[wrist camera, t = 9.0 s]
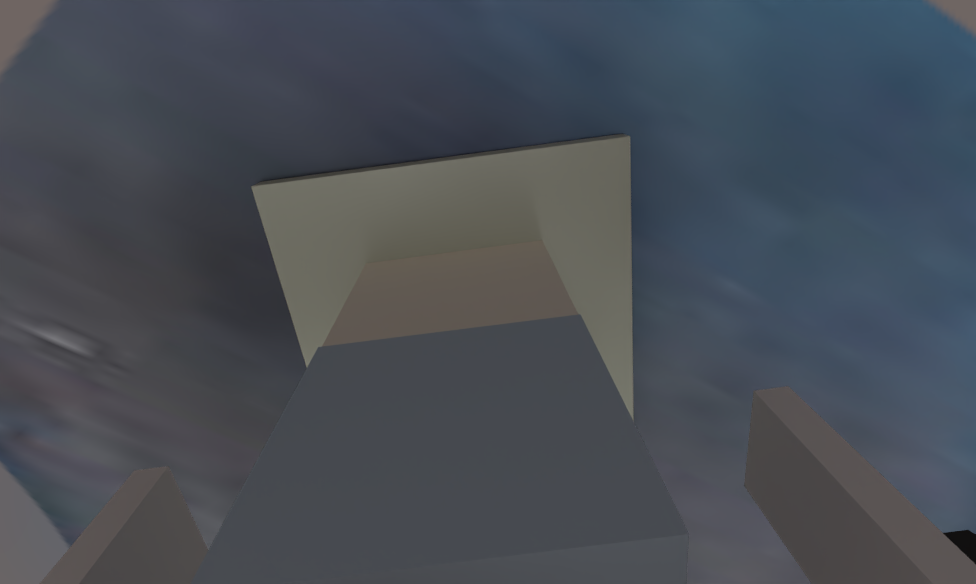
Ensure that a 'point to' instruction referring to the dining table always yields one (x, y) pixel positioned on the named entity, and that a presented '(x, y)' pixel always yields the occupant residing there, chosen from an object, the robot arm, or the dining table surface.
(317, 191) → the plate
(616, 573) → the block
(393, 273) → the block
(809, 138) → the dining table surface
